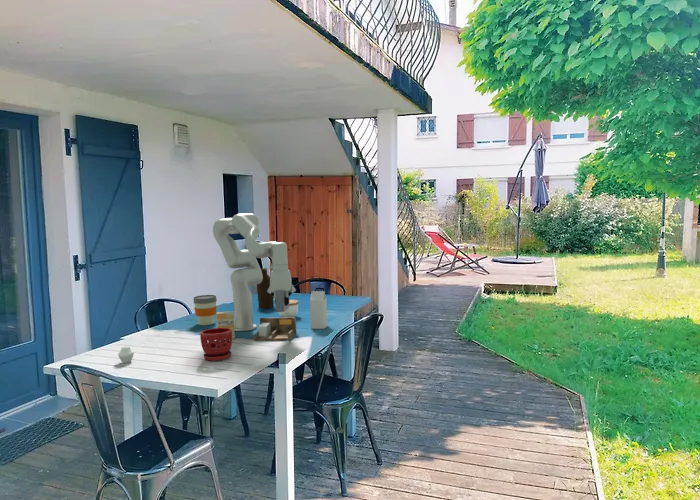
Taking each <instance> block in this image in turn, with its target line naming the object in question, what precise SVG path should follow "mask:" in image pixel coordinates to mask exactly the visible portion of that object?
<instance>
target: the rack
mask: <svg viewBox="0 0 700 500" xmlns="http://www.w3.org/2000/svg"><path fill="white" fill-rule="evenodd" d="M257 329H258V330H257V332H255V334H254V337H253V341H254V342H261V341H262V342H263V341H270V342H271V341H272V342H273V341H276V342H277V341H292V339H293V338H294V337H295V335H296V334H297V317H296V316H295V317H283V318H282V317H260V318H259V325H258V327H257Z"/></svg>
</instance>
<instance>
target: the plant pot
mask: <svg viewBox="0 0 700 500" xmlns="http://www.w3.org/2000/svg"><path fill="white" fill-rule="evenodd" d="M199 336H200V344H201V348H202V350H203V352H204V354H203V358H204V359H205V360H207V361H214V362H216V361H218V362H219V361H223V360H226V359H228V358H230V357H231V356H232V351H231V348H232V345H233V339H232V330H231V329H230V328H217V327H215V328H208V329H205V330H202V331H200V332H199ZM224 339H225V340H224Z"/></svg>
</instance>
